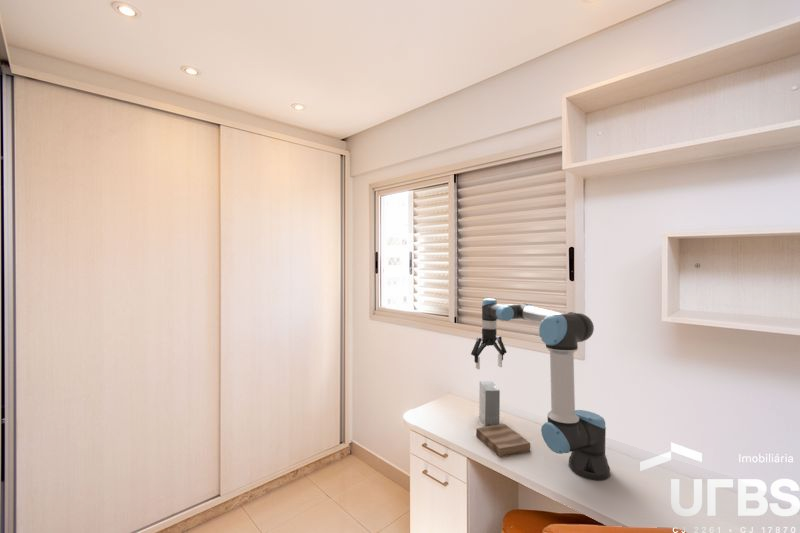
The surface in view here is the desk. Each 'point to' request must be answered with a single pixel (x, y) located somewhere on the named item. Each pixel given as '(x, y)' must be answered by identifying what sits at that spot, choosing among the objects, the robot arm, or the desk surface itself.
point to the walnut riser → (503, 440)
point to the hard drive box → (489, 403)
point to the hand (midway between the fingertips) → (488, 367)
